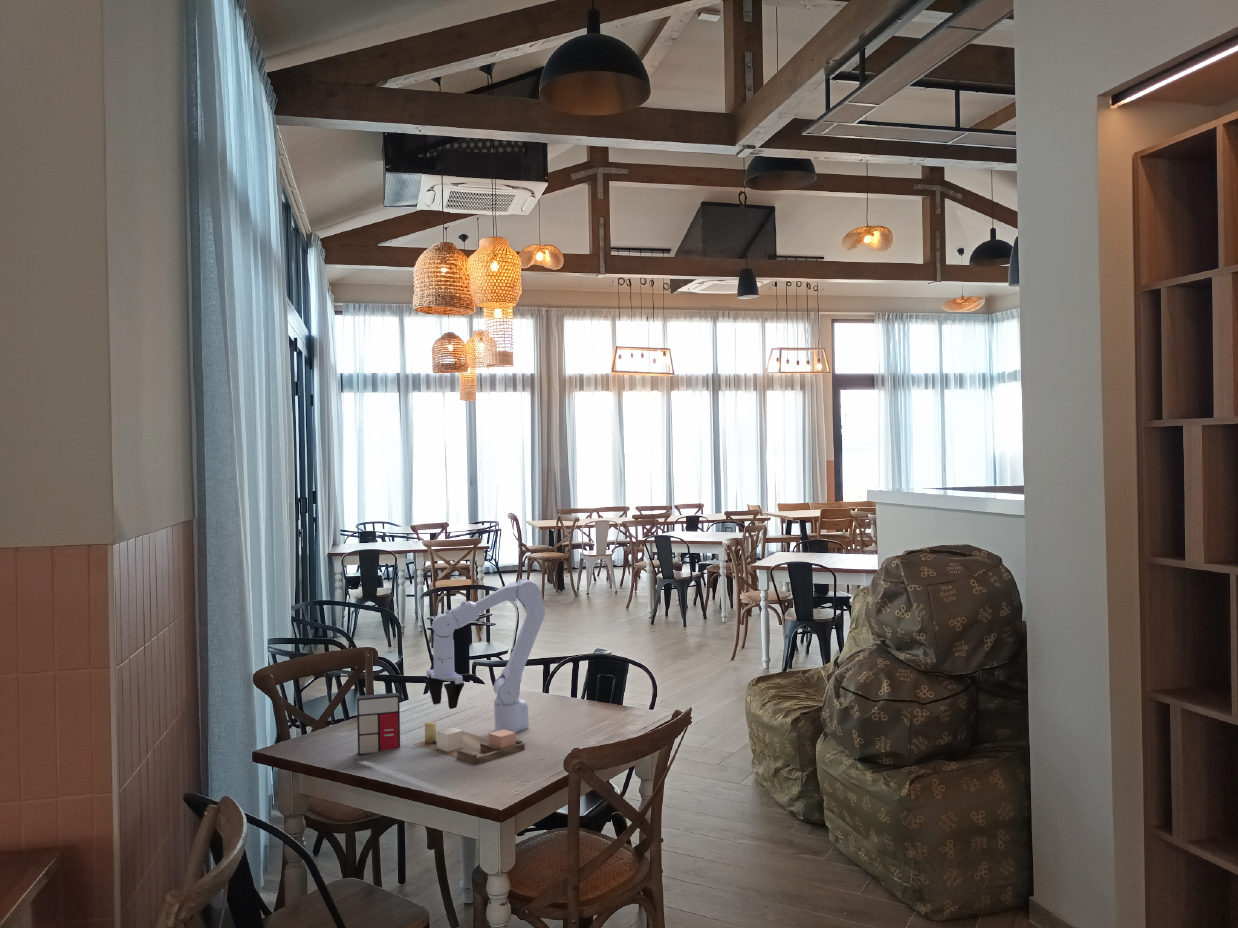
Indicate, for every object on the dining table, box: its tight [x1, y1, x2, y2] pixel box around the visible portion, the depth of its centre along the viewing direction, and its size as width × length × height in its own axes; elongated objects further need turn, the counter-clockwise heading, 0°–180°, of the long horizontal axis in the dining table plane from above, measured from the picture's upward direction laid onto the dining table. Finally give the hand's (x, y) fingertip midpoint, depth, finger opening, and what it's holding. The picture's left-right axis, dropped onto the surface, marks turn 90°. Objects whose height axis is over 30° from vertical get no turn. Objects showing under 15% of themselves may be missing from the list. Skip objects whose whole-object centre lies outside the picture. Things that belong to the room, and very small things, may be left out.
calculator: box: [356, 692, 401, 756], centre depth 236 cm, size 11×4×15 cm, turn 105°
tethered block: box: [424, 721, 464, 752], centre depth 237 cm, size 5×13×5 cm, turn 47°
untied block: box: [488, 729, 517, 749], centre depth 231 cm, size 5×5×4 cm
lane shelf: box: [413, 731, 526, 765], centre depth 235 cm, size 16×28×3 cm, turn 47°
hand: (444, 705), depth 246 cm, fingers open, 7 cm apart
